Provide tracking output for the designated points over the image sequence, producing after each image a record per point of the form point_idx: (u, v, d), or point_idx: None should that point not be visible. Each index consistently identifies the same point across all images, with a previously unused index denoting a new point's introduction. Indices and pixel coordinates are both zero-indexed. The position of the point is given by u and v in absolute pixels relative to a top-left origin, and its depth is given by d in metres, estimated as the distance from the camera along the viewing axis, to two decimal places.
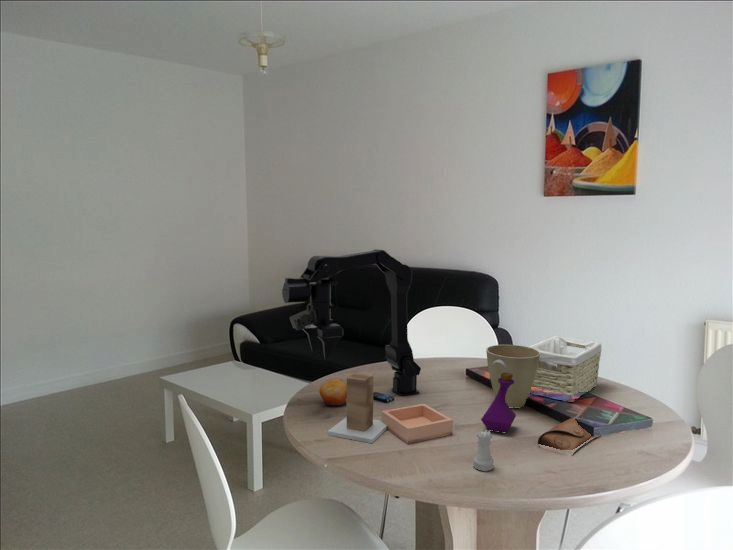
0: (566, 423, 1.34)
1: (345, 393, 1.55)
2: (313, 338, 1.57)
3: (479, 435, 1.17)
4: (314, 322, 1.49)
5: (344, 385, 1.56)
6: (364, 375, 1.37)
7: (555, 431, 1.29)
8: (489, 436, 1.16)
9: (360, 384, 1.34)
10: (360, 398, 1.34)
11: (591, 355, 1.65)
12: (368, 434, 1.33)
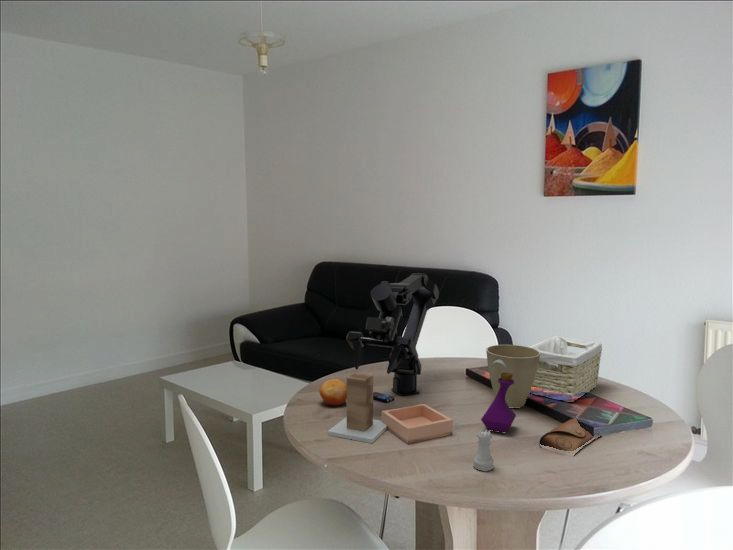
0: (567, 423, 1.34)
1: (345, 393, 1.55)
2: (360, 355, 1.48)
3: (479, 435, 1.17)
4: (389, 333, 1.46)
5: (344, 385, 1.56)
6: (364, 375, 1.37)
7: (557, 432, 1.29)
8: (489, 436, 1.16)
9: (360, 384, 1.34)
10: (360, 398, 1.34)
11: (592, 355, 1.65)
12: (368, 434, 1.33)
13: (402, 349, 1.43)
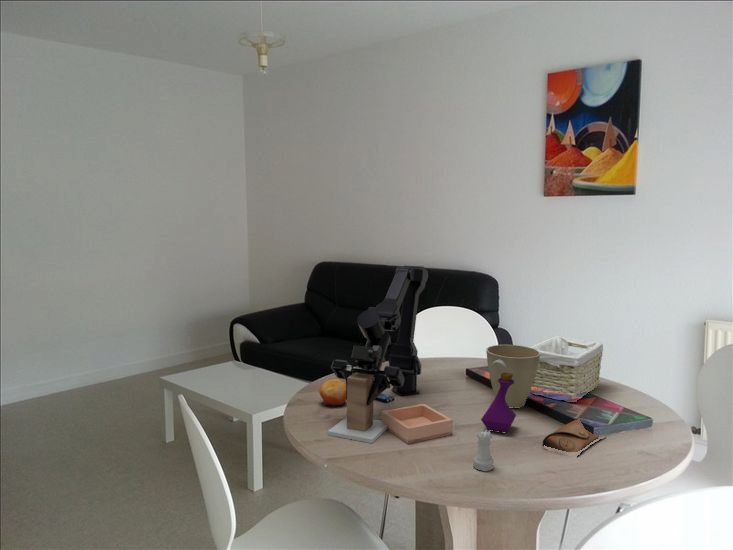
0: (570, 424, 1.33)
1: (345, 393, 1.55)
2: None
3: (479, 435, 1.17)
4: (376, 362, 1.38)
5: (344, 385, 1.56)
6: (365, 375, 1.37)
7: (560, 433, 1.28)
8: (489, 436, 1.16)
9: (360, 384, 1.34)
10: (360, 398, 1.34)
11: (593, 355, 1.65)
12: (368, 434, 1.33)
13: (383, 379, 1.36)
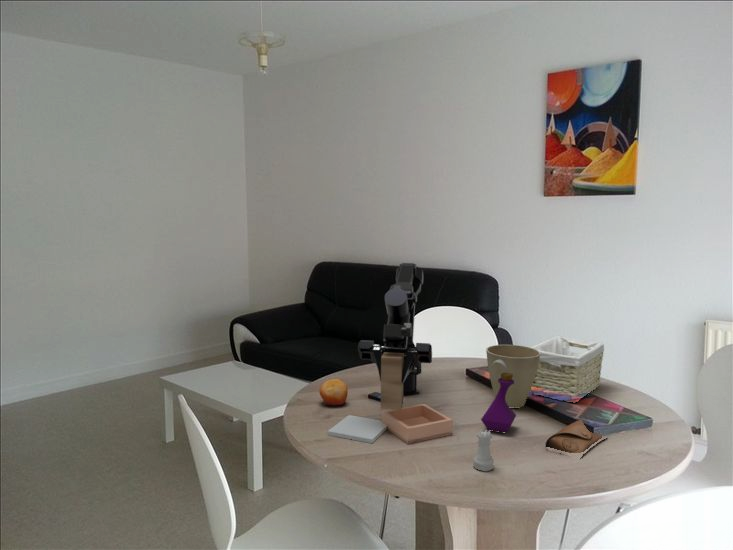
0: (573, 425, 1.33)
1: (345, 393, 1.55)
2: None
3: (479, 435, 1.17)
4: (406, 340, 1.38)
5: (344, 385, 1.56)
6: (395, 354, 1.36)
7: (563, 434, 1.28)
8: (489, 436, 1.16)
9: (396, 362, 1.33)
10: (396, 377, 1.33)
11: (594, 355, 1.65)
12: (368, 434, 1.33)
13: (415, 356, 1.36)
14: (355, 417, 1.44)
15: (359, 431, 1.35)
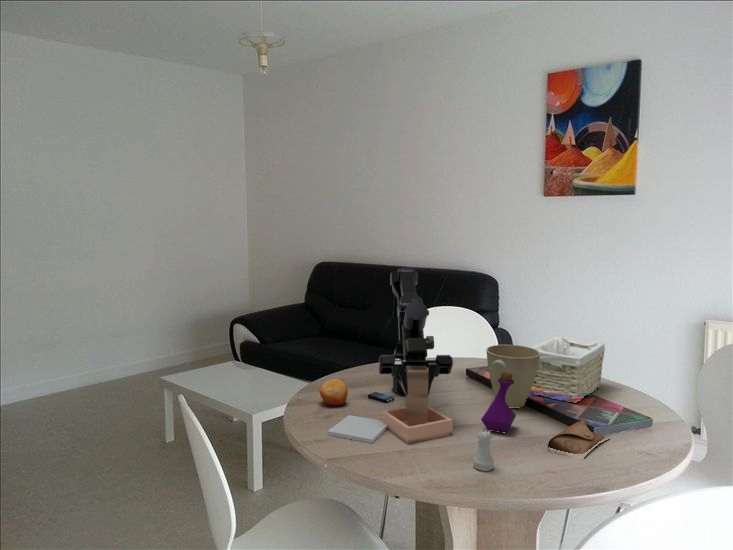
0: (575, 426, 1.32)
1: (345, 393, 1.55)
2: None
3: (479, 435, 1.17)
4: (426, 352, 1.40)
5: (344, 385, 1.56)
6: (419, 367, 1.38)
7: (565, 434, 1.27)
8: (489, 436, 1.16)
9: (423, 376, 1.34)
10: (423, 390, 1.35)
11: (595, 355, 1.64)
12: (368, 434, 1.33)
13: (437, 368, 1.39)
14: (355, 417, 1.44)
15: (359, 431, 1.35)
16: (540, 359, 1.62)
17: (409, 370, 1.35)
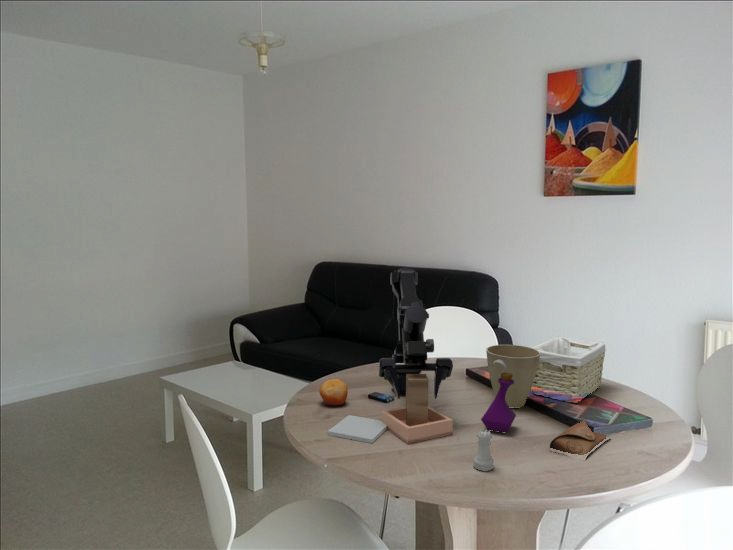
0: (576, 426, 1.32)
1: (345, 393, 1.55)
2: None
3: (479, 435, 1.17)
4: (426, 355, 1.40)
5: (344, 385, 1.56)
6: (419, 375, 1.38)
7: (567, 435, 1.27)
8: (489, 436, 1.16)
9: (423, 384, 1.35)
10: (423, 398, 1.35)
11: (595, 356, 1.64)
12: (368, 434, 1.33)
13: (445, 371, 1.39)
14: (355, 417, 1.44)
15: (359, 431, 1.35)
16: (541, 359, 1.62)
17: (409, 378, 1.35)
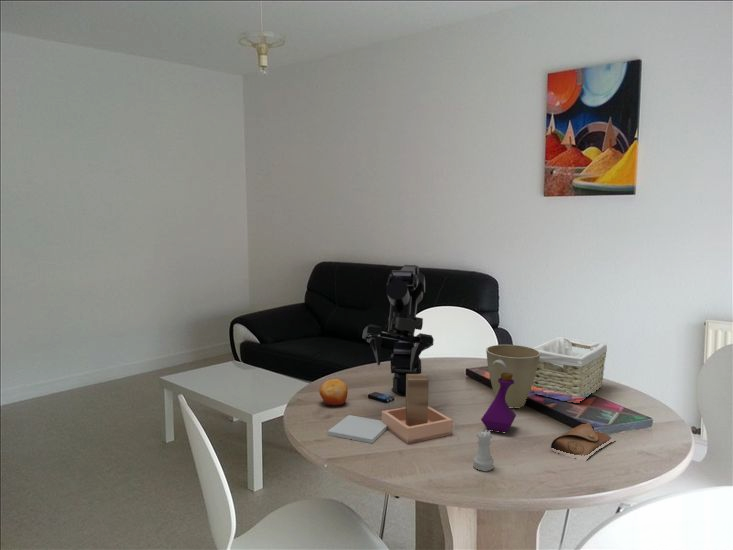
0: (580, 427, 1.31)
1: (345, 393, 1.55)
2: None
3: (479, 435, 1.17)
4: None
5: (344, 385, 1.56)
6: (419, 375, 1.38)
7: (569, 435, 1.27)
8: (489, 436, 1.16)
9: (423, 384, 1.35)
10: (423, 398, 1.35)
11: (597, 356, 1.64)
12: (368, 434, 1.33)
13: (425, 347, 1.47)
14: (355, 417, 1.44)
15: (359, 431, 1.35)
16: (542, 359, 1.62)
17: (409, 378, 1.35)
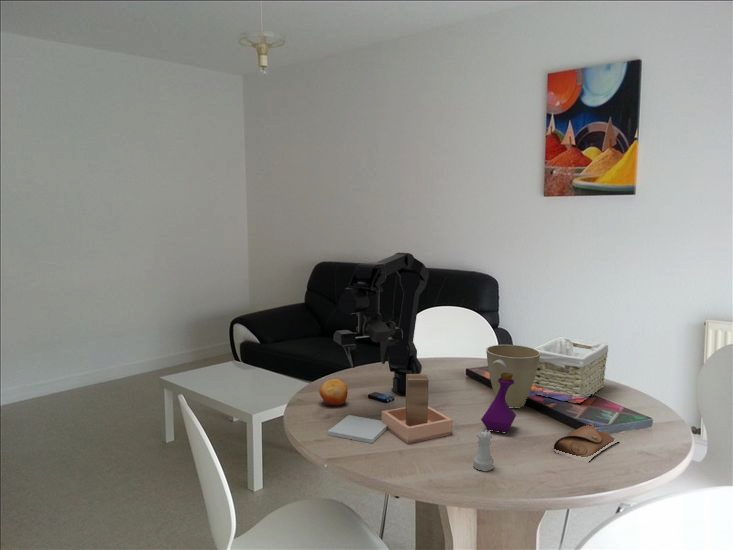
0: (583, 428, 1.31)
1: (345, 393, 1.55)
2: None
3: (479, 435, 1.17)
4: None
5: (344, 385, 1.56)
6: (419, 375, 1.38)
7: (572, 437, 1.26)
8: (489, 436, 1.16)
9: (423, 384, 1.35)
10: (423, 398, 1.35)
11: (598, 356, 1.64)
12: (368, 434, 1.33)
13: None
14: (355, 417, 1.44)
15: (359, 431, 1.35)
16: (543, 359, 1.62)
17: (409, 378, 1.35)
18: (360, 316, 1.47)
